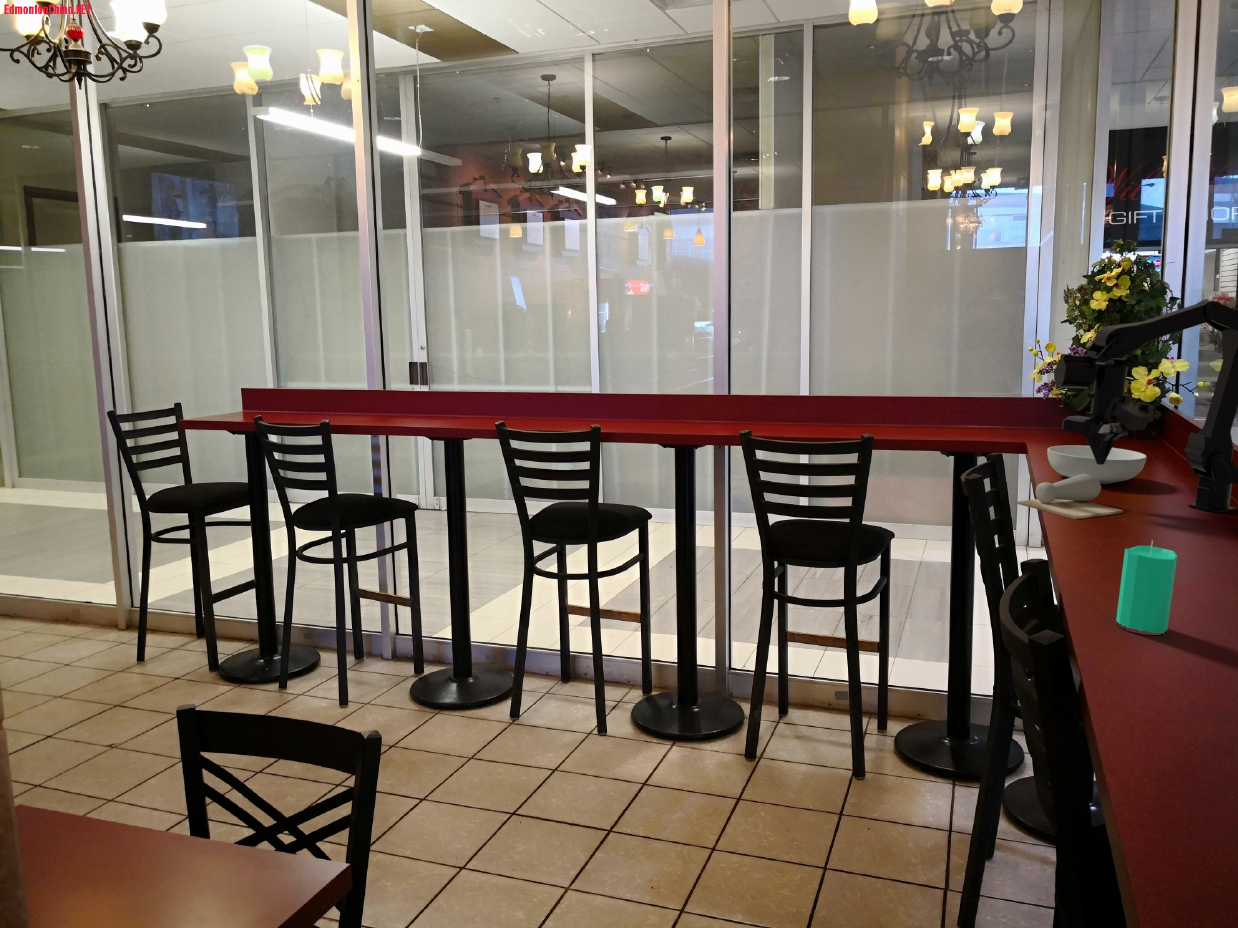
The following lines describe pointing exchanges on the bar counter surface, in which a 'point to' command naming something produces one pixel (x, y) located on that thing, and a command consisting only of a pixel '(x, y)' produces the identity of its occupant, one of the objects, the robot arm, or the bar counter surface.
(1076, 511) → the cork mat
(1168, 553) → the candle
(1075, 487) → the salt shaker
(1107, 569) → the bar counter surface
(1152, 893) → the bar counter surface
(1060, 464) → the serving bowl
